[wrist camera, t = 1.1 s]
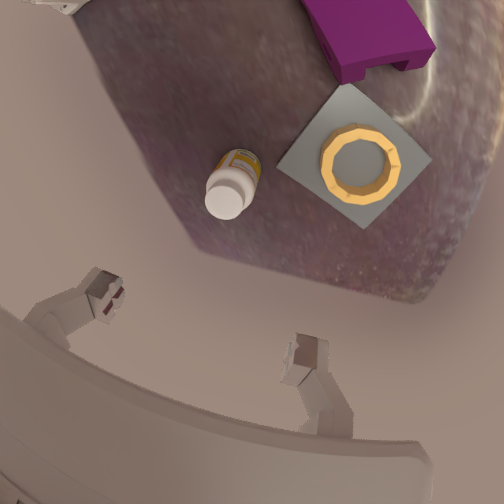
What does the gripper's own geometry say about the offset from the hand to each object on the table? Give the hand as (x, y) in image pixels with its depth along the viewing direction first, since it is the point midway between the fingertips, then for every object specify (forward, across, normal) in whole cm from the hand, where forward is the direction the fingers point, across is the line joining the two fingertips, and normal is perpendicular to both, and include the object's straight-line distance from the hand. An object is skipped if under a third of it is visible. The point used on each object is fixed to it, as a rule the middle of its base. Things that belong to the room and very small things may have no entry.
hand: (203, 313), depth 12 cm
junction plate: (+27, -10, -2) cm, 29 cm away
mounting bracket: (+27, -3, -20) cm, 34 cm away
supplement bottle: (+27, +4, +4) cm, 27 cm away
